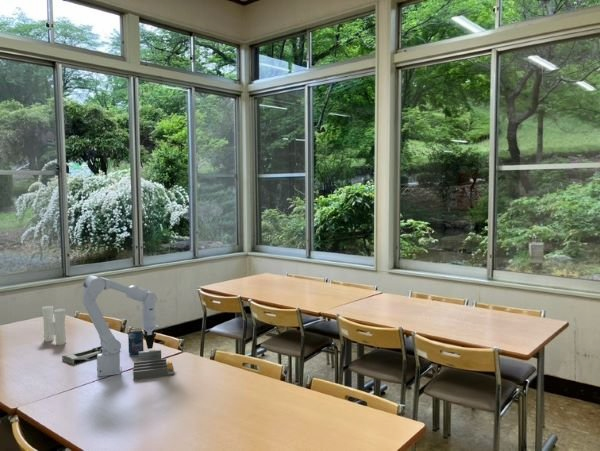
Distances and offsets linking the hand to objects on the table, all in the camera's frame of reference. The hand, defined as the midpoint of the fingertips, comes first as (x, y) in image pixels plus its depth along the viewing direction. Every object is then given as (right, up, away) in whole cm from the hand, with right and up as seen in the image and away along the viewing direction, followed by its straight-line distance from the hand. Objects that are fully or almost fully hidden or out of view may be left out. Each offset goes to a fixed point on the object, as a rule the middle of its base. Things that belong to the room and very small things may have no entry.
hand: (149, 345), depth 220 cm
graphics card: (-31, -9, +11) cm, 34 cm away
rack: (+5, -9, -11) cm, 15 cm away
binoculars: (-62, -7, +34) cm, 71 cm away
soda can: (-11, -8, +14) cm, 19 cm away
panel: (0, -8, 0) cm, 8 cm away
